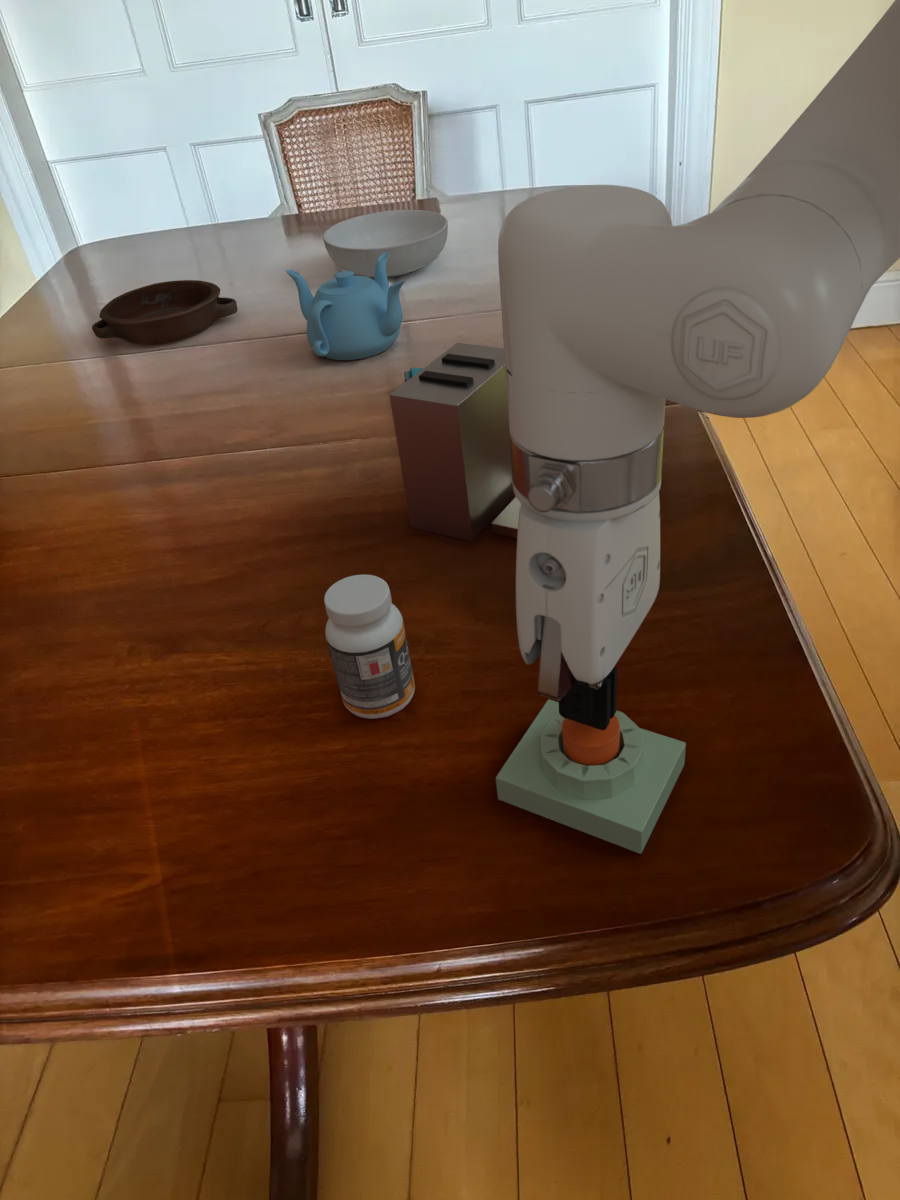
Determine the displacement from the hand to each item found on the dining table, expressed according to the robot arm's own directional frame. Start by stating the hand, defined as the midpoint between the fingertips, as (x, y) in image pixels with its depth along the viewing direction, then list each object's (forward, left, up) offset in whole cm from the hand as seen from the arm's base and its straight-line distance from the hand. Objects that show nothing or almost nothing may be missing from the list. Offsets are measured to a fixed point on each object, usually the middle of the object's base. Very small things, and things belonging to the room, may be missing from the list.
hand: (587, 715), depth 56 cm
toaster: (+25, -28, -6) cm, 38 cm away
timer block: (0, 0, -6) cm, 6 cm away
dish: (+95, -56, -6) cm, 110 cm away
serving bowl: (+75, -89, -6) cm, 116 cm away
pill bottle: (+18, -1, -6) cm, 19 cm away
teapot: (+61, -60, -6) cm, 86 cm away
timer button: (0, 0, -3) cm, 3 cm away
